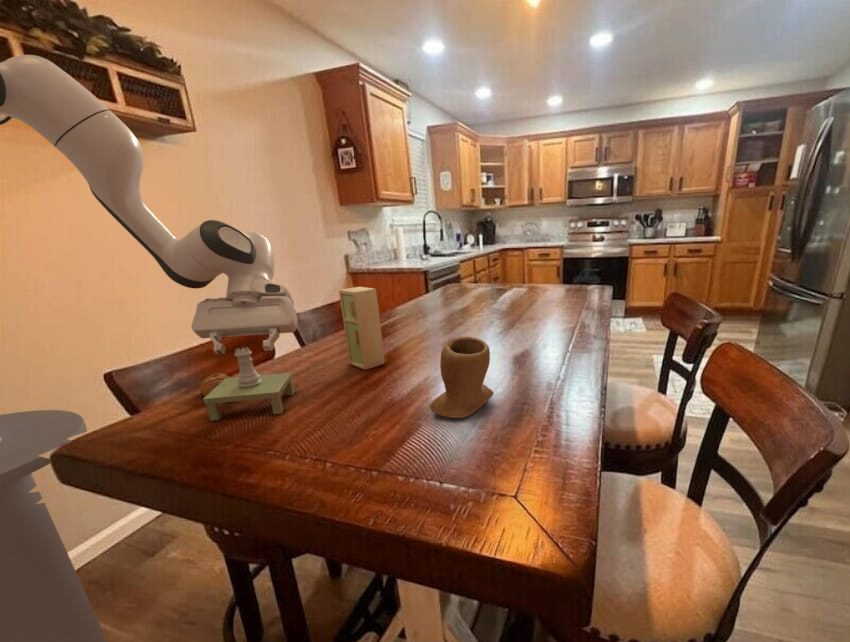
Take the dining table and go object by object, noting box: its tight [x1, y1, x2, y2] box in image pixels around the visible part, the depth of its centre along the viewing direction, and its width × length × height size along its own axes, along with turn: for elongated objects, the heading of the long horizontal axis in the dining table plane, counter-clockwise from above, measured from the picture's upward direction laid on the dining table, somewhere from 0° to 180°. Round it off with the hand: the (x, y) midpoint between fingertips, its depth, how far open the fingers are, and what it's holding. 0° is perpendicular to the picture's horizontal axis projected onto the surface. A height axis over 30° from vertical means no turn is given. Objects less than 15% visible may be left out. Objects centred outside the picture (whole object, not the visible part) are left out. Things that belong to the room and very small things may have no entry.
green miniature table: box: [202, 371, 295, 422], centre depth 88 cm, size 14×12×5 cm
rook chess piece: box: [234, 346, 261, 388], centre depth 86 cm, size 4×4×8 cm
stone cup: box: [428, 336, 495, 419], centre depth 83 cm, size 15×12×15 cm
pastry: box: [199, 373, 230, 398], centre depth 95 cm, size 9×7×4 cm
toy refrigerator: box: [338, 286, 386, 371], centre depth 109 cm, size 8×7×21 cm
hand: (243, 351), depth 85 cm, fingers open, 8 cm apart
